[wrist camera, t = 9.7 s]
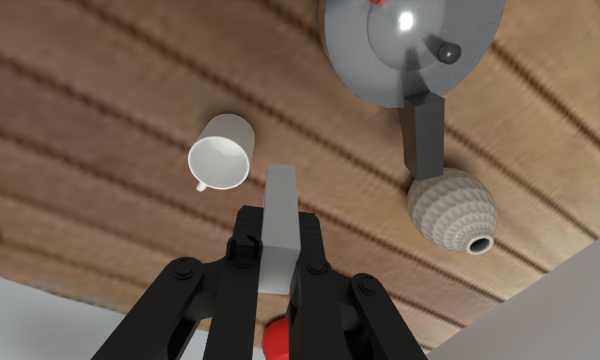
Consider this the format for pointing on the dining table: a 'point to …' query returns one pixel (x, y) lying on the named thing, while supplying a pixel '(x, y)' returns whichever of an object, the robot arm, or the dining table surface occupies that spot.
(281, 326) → the teapot
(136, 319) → the robot arm
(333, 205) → the dining table surface
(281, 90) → the dining table surface
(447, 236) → the vase
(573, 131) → the dining table surface
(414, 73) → the lid
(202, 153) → the cup
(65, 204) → the dining table surface
